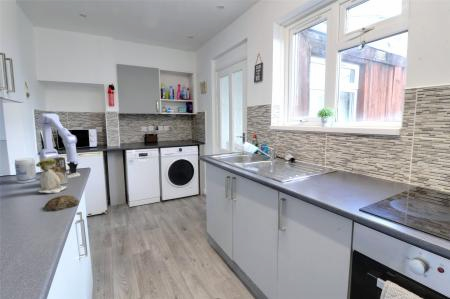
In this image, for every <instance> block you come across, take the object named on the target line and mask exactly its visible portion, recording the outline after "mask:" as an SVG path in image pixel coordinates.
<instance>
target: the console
mask: <svg viewBox="0 0 450 299" xmlns="http://www.w3.org/2000/svg"><path fill="white" fill-rule="evenodd" d="M80 176H81V173H79V172H77V171H76V173H72V174H69V170H68V171H67V177H68V179H71V178H74V177H80Z"/></svg>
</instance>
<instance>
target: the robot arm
mask: <svg viewBox="0 0 450 299" xmlns="http://www.w3.org/2000/svg"><path fill="white" fill-rule="evenodd" d="M38 122H39V125H40V126H41V131H42V132H41V133H42V139H43V142H42V143H43V147H44V148H43V149H41V150H40V152H39V161H41V160H42V159H48V158H58V157H59V153H58V150H57V149H55V148H54V144H53V135H52V126H53V127H55V129H56V130H57V134H58V135H59V137H60V138H61V139H62V143H63V145H64V147H65V153H66V162H67V163H66V166H68V169H69V168H70V170H71V173H76V172H77V168H78V165H79V161H80V158H78V155H77V147H76V146H77V143H78V138H77V136H76V135H74V134H72V133H71V132H70V131H69V130H68V129H67V127H64V126H63V124H62V123H61V121H60V115H59V114H58V113H44V112H43V113H39V115H38Z"/></svg>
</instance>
